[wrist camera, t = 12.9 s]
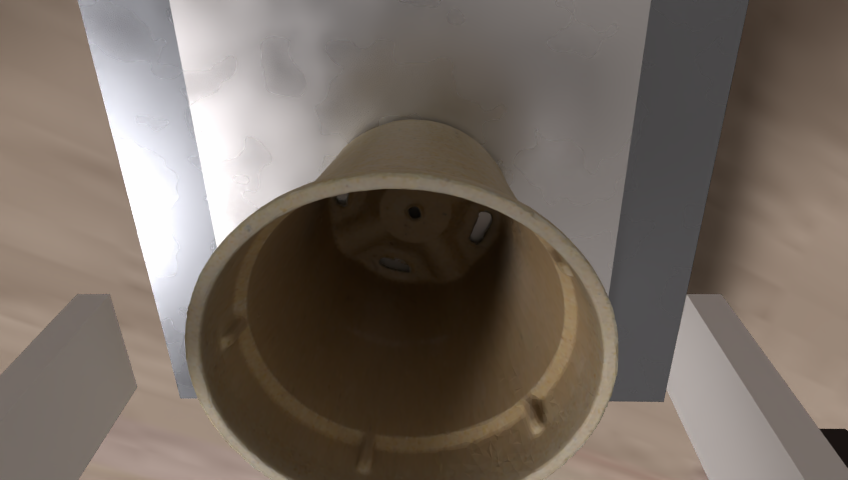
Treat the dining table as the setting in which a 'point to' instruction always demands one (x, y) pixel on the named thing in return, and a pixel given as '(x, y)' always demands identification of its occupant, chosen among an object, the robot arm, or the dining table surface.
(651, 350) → the gray square platform
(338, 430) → the flower pot
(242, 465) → the dining table surface
